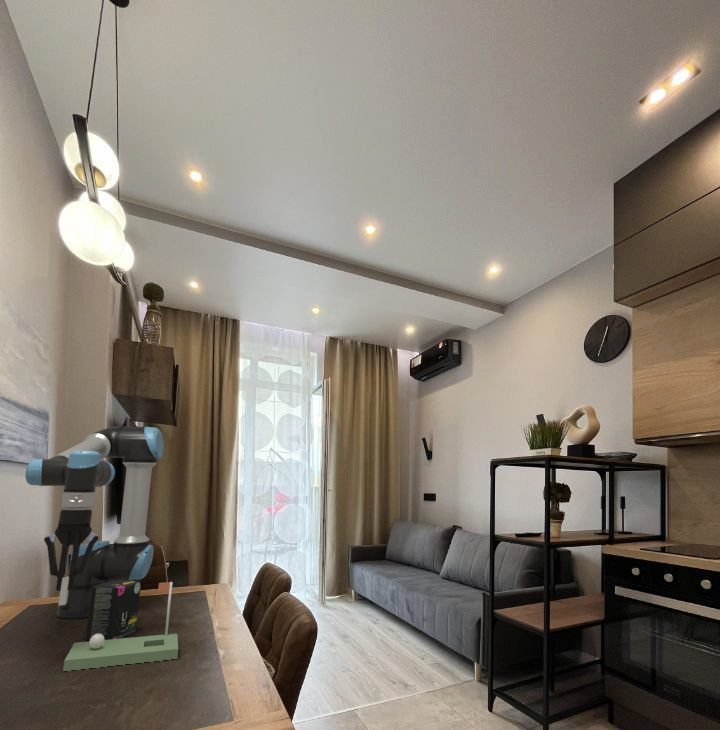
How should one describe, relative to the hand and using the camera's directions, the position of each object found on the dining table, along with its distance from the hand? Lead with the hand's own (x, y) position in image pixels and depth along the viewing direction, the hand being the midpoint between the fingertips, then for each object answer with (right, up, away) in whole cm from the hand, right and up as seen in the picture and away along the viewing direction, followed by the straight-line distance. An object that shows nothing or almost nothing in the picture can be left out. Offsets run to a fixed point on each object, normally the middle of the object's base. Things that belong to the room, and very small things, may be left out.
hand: (62, 603), depth 125 cm
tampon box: (+3, -19, +19) cm, 27 cm away
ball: (+8, -10, +1) cm, 13 cm away
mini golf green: (+15, -15, +3) cm, 21 cm away
